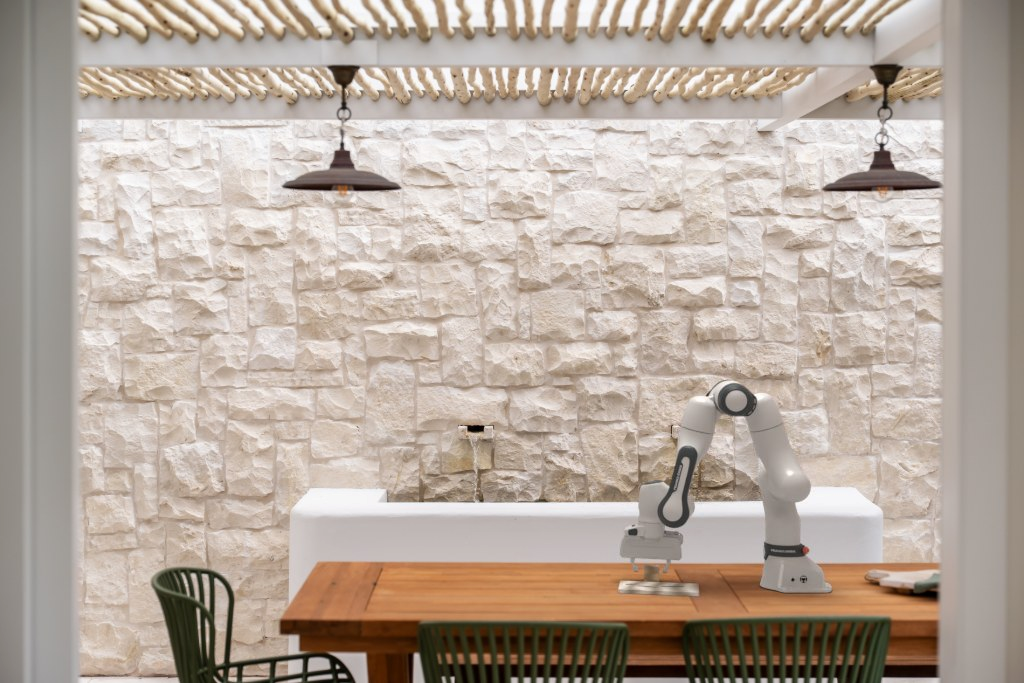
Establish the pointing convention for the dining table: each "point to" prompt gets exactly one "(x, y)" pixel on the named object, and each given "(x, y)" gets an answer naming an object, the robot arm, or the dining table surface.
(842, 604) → the dining table surface
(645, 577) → the beige brown jar
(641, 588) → the plank
